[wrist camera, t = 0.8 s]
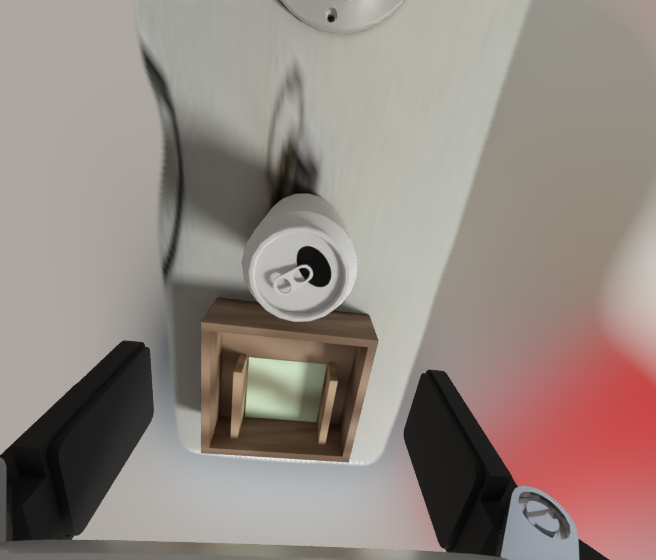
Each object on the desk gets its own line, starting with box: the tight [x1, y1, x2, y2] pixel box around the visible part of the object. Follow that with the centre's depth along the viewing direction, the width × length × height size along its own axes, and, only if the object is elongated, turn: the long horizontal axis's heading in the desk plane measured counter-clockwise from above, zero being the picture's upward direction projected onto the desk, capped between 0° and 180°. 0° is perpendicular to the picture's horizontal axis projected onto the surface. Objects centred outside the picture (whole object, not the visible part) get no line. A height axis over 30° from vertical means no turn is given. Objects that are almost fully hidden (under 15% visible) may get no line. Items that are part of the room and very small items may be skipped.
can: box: [242, 194, 357, 322], centre depth 24 cm, size 8×8×12 cm
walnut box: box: [201, 298, 378, 462], centre depth 33 cm, size 16×16×5 cm
